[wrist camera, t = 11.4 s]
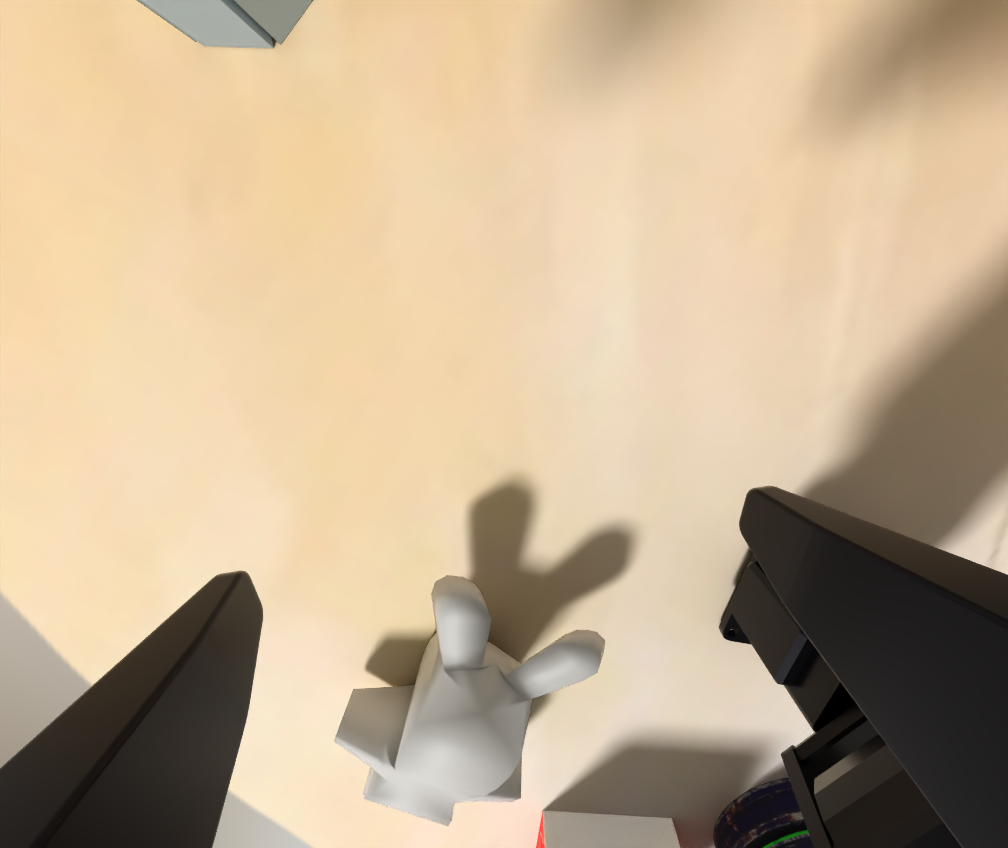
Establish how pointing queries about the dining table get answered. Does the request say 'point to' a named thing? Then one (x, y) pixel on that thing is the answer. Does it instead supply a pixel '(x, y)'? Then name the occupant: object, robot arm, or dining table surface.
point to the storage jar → (763, 820)
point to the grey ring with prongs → (231, 20)
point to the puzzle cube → (605, 831)
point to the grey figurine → (458, 711)
